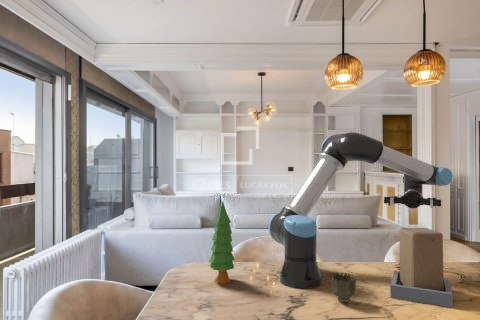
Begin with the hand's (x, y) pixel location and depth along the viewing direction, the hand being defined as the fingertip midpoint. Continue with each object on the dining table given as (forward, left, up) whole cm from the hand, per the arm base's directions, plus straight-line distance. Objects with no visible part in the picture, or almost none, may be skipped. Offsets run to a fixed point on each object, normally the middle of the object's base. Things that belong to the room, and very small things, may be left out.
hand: (410, 203), depth 126 cm
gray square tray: (+3, -15, -28) cm, 32 cm away
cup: (-18, -34, -29) cm, 48 cm away
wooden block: (+3, -15, -28) cm, 31 cm away
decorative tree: (-62, -35, -29) cm, 77 cm away
